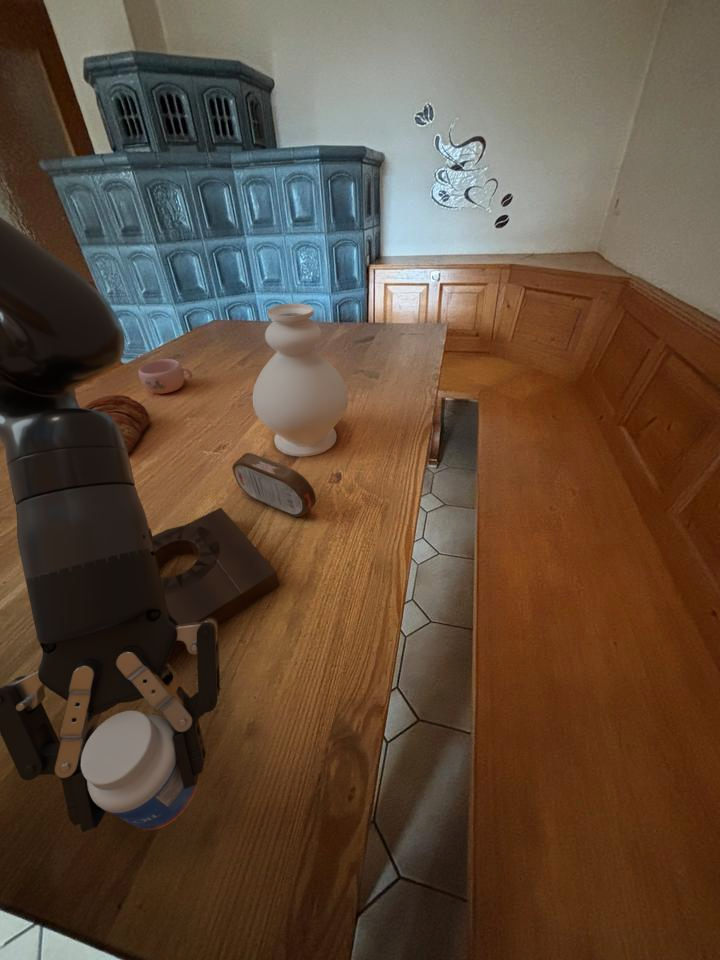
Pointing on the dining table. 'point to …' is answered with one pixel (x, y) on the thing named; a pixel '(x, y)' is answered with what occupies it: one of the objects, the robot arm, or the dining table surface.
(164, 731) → the pill bottle
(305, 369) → the decorative vase
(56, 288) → the robot arm
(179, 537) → the base pad
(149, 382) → the mug
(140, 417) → the pastry
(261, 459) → the tin
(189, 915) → the dining table surface
